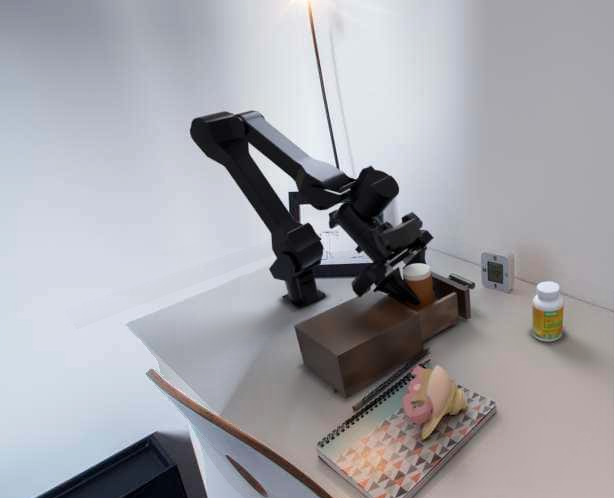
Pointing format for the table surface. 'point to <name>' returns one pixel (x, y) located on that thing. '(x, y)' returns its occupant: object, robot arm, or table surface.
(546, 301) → the supplement bottle
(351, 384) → the cabinet
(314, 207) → the robot arm
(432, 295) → the pill bottle
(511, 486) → the table surface
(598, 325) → the table surface
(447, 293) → the drawer
